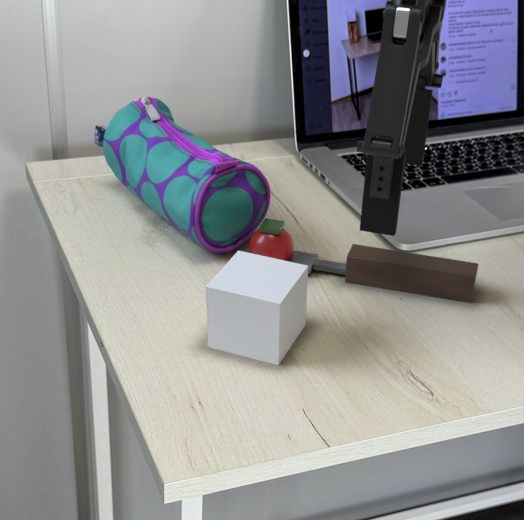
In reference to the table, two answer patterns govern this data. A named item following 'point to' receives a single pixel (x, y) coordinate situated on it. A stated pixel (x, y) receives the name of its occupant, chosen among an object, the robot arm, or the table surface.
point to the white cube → (256, 306)
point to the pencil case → (184, 176)
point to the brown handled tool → (376, 266)
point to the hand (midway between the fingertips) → (393, 194)
